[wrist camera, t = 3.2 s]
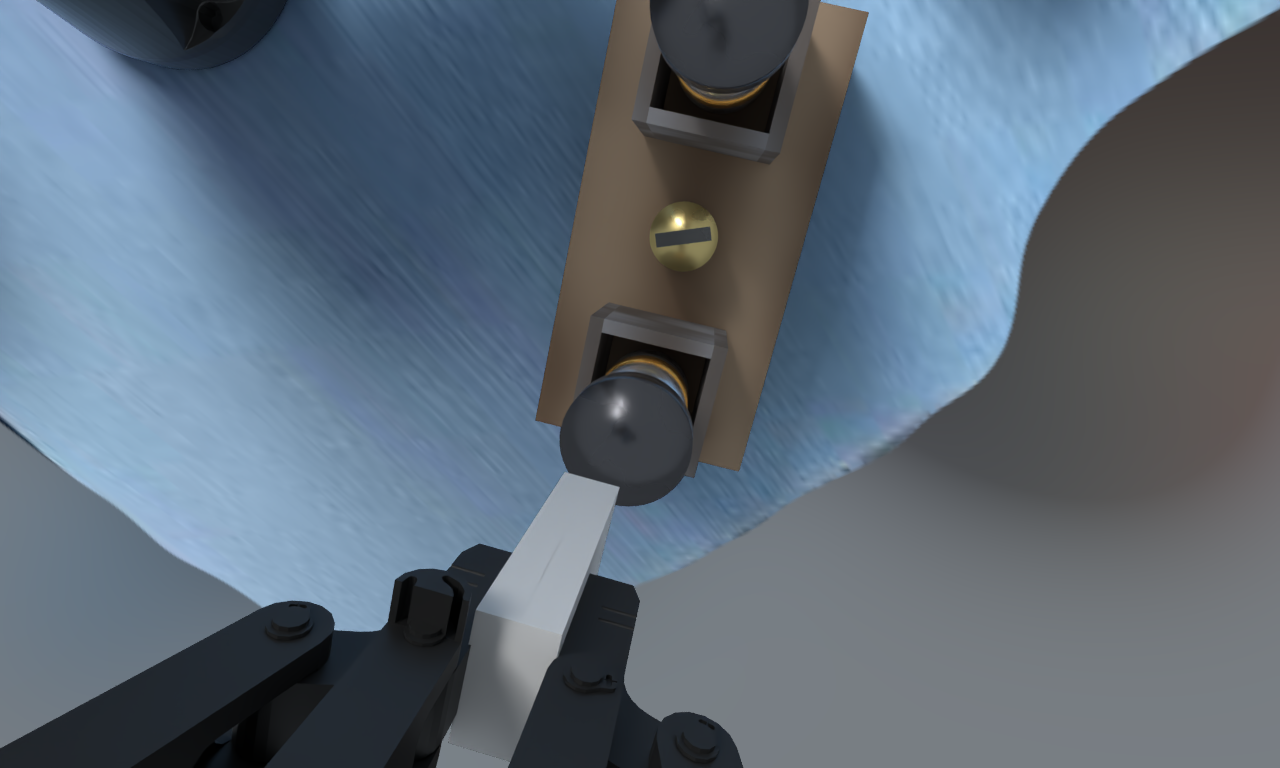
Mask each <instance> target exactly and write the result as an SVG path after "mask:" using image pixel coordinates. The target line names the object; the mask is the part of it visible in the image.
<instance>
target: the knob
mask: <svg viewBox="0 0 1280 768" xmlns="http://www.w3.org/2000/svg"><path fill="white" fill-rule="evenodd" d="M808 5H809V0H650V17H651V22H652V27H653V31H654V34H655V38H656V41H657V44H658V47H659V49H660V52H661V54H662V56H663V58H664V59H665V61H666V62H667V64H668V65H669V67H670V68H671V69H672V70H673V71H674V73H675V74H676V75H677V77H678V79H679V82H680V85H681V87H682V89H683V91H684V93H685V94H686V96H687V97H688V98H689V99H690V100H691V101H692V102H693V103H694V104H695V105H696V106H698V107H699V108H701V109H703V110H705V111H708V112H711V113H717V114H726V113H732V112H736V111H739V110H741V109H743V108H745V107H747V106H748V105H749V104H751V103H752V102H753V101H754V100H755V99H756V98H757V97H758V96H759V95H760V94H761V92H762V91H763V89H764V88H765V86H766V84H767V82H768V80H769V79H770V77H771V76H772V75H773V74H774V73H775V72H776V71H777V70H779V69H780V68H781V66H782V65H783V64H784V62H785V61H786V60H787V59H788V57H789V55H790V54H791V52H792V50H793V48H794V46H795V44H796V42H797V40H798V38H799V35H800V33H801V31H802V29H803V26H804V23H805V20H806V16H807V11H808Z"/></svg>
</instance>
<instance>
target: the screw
mask: <svg viewBox="0 0 1280 768" xmlns="http://www.w3.org/2000/svg"><path fill="white" fill-rule="evenodd" d="M649 237H650V246H651V249H652V251H653V253H654V255H655V257H656V258H657V259H658V261H659V262H660V263H662V264H663V265H664V266H666V267H667V268H669V269H672V270H675V271H681V272H686V271H692V270H695V269H697V268H699V267H701V266H703V265H704V264H705V263H706V262H708V260H709V259H710V258H711V257H712V255H713V254H714V252H715V249H716V247H717V242H718V230H717V226H716V223H715V221H714V219H713V217H712V215H711V214H710V213H709V212H708V211H707V210H706V209H705V208H703V207H702V206H700V205H698V204H696V203H692V202H685V201H683V202H676V203H673V204H670V205H668V206H666V207H665V208H664V209H662V210H661V211H660V212H659V213H658V214H657V216H656V217H655V219H654V221H653V223H652V225H651V229H650V236H649Z"/></svg>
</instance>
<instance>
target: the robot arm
mask: <svg viewBox="0 0 1280 768" xmlns="http://www.w3.org/2000/svg"><path fill="white" fill-rule="evenodd" d="M37 1H38V2H39V3H41V4H42V5H44V6H45V7H46V8H48V9H49V10H51V11H52V12H54V13H55V14H56V15H58V16H59V17H61V18H62V19H63V20H65V21H66V22H68V23H69V24H71V25H72V26H73V27H75V28H76V29H78V30H79V31H80V32H82V33H83V34H85V35H86V36H88V37H89V38H91V39H92V40H94V41H96V42H98V43H99V44H101V45H103V46H105V47H107V48H109V49H111V50H113V51H116V52H118V53H120V54H123V55H126V56H128V57H132V58H135V59H138V60H142V61H145V62H149V63H152V64H155V65H159V66H163V67H167V68H173V69H181V70H196V69H205V68H210V67H214V66H218V65H221V64H224V63H226V62H229V61H231V60H233V59H235V58H237V57H239V56H240V55H242V54H243V53H245V52H246V51H248V50H249V49H251V48H252V47H253V46H254V45H255V44H256V43H258V42H259V41H260V40H261V39H262V37H263V36H264V35H265V34H266V33H267V32H268V31H269V29H270V28H271V27H272V25H273V24H274V23H275V21H276V20H277V18H278V16H279V14H280V13H281V11H282V9H283V7H284V5H285V3H286V1H287V0H37ZM618 491H619V487H617V486H614V485H610V484H606V483H603V482H599V481H595V480H592V479H588V478H585V477H581V476H577V475H574V474H570V473H567V472H564V474H563V475H562V477H561V478H560V480H559V482H558V483H557V485H556V486H555V488H554V489H553V491H552V492H551V494H550V495H549V497H548V499H547V500H546V502H545V503H544V505H543V506H542V508H541V509H540V511H539V513H538V514H537V516H536V517H535V519H534V520H533V522H532V523H531V525H530V526H529V528H528V530H527V531H526V533H525V534H524V536H523V537H522V539H521V540H520V542H519V544H518V545H517V547H516V548H515V550H514V551H513V553H511V552H507V551H504V550H500V549H497V548H493V547H490V546H486V545H483V544H478V545H476V546H474V547H471V548H469V549H467V550H465V551H463V552H462V553H461V554H460V555H459V556H458V557H457V559H456V560H455V561H454V562H453V564H452V566H451V567H449V569H448V570H447V571H444V570H438V569H418V570H414V571H411V572H407V573H404V574H403V575H401V576H400V577H399V578H397V579H396V580H395V583H394V589H393V595H392V601H391V607H390V613H389V619H388V622H387V623H386V625H385V626H384V627H383V628H382V629H381V630H379V631H373V632H354V631H337V630H334V625H335V622H334V619H333V617H332V614H331V613H330V612H329V611H328V610H326V609H325V608H324V607H322V606H320V605H317V604H314V603H311V602H304V601H287V602H280V603H274V604H272V605H269V606H266V607H264V608H261V609H259V610H257V611H255V612H253V613H251V614H250V615H248V616H246V617H244V618H242V619H240V620H238V621H237V622H235V623H233V624H231V625H229V626H227V627H225V628H224V629H222V630H220V631H218V632H216V633H214V634H212V635H210V636H209V637H207V638H205V639H203V640H201V641H199V642H197V643H196V644H194V645H192V646H190V647H188V648H186V649H185V650H183V651H181V652H179V653H177V654H175V655H173V656H171V657H170V658H168V659H166V660H164V661H162V662H160V663H158V664H157V665H155V666H153V667H151V668H149V669H147V670H145V671H144V672H142V673H140V674H138V675H136V676H134V677H132V678H130V679H129V680H127V681H125V682H123V683H121V684H120V685H118V686H116V687H114V688H112V689H110V690H108V691H106V692H104V693H103V694H101V695H99V696H97V697H95V698H93V699H91V700H90V701H88V702H86V703H84V704H82V705H80V706H78V707H77V708H75V709H73V710H71V711H69V712H67V713H65V714H64V715H62V716H60V717H58V718H56V719H54V720H52V721H50V722H49V723H47V724H45V725H43V726H41V727H39V728H37V729H36V730H34V731H32V732H30V733H28V734H26V735H24V736H23V737H21V738H19V739H17V740H15V741H13V742H11V743H10V744H8V745H6V746H4V747H2V748H0V768H436V765H437V761H438V757H439V753H440V748H441V743H442V740H443V738H444V736H445V735H446V733H447V731H448V729H449V727H450V725H451V724H452V727H451V732H450V737H449V741H448V743H450V744H453V745H457V746H460V747H463V748H466V749H470V750H473V751H476V752H480V753H483V754H486V755H490V756H493V757H496V758H500V759H503V760H506V761H509V762H510V764H509V766H508V768H743V765H742V762H741V759H740V756H739V753H738V750H737V747H736V745H735V744H734V742H733V740H732V738H731V736H730V735H729V734H728V733H727V732H726V731H725V730H724V729H723V728H722V727H721V726H720V725H719V724H718V723H716V722H714V721H712V720H710V719H709V718H707V717H705V716H702V715H698V714H695V713H691V712H680V713H674V714H672V715H669V716H667V717H665V718H664V719H663V720H662V722H660V721H658V720H657V719H655V718H653V717H652V716H650V715H648V714H647V713H646V712H644V711H643V710H641V709H640V708H639V707H638V706H637V705H636V704H635V703H634V702H633V701H632V700H631V698H630V696H629V695H628V694H627V691H626V688H625V685H624V674H625V669H626V664H627V659H628V655H629V650H630V645H631V641H632V636H633V631H634V626H635V621H636V617H637V612H638V607H639V603H640V600H639V598H638V596H637V593H636V591H635V588H634V586H633V585H629V584H626V583H622V582H619V581H615V580H612V579H608V578H605V577H601V576H598V575H597V574H598V570H599V566H600V562H601V558H602V554H603V550H604V546H605V542H606V538H607V535H608V531H609V527H610V523H611V519H612V515H613V511H614V507H615V503H616V499H617V495H618Z"/></svg>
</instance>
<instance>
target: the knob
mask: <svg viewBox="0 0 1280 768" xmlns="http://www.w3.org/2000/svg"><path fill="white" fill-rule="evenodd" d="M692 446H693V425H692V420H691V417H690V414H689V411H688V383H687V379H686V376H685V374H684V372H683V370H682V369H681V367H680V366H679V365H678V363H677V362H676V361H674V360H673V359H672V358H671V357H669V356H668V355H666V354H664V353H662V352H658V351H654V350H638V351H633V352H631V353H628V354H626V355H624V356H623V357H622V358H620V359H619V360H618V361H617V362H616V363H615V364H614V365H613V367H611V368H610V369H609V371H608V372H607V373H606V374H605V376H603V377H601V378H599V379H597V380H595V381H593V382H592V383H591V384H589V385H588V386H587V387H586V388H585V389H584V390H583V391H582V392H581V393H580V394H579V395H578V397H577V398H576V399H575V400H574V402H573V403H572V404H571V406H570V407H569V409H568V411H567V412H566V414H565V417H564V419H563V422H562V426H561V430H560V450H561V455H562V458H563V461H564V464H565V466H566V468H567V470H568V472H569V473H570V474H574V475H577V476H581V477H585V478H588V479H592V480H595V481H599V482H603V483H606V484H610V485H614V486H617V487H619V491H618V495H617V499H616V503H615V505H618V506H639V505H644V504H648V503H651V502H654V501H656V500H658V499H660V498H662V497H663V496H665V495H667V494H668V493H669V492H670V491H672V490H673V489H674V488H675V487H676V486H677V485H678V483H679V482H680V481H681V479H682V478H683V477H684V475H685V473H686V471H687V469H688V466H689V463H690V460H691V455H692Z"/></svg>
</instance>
